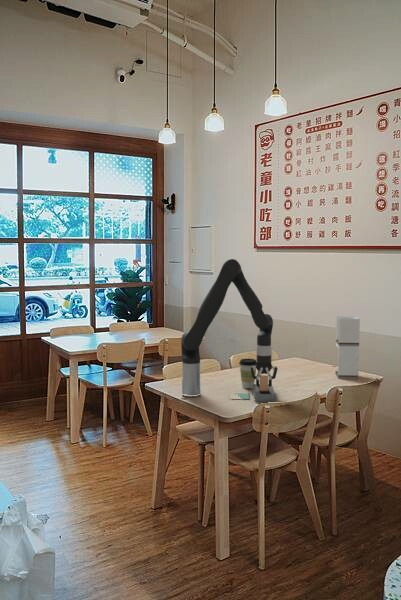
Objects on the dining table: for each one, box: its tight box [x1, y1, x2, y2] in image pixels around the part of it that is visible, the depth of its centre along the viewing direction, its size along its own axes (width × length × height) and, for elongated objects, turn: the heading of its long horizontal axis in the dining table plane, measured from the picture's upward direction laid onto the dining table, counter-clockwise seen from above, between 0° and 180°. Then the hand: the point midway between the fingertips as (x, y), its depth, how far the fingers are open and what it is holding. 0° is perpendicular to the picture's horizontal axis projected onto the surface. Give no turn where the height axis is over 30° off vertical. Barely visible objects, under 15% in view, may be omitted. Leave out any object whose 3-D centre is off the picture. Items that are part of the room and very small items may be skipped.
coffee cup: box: [238, 358, 257, 389], centre depth 290 cm, size 10×10×15 cm
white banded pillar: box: [334, 315, 361, 380], centre depth 312 cm, size 11×11×35 cm
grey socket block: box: [252, 383, 277, 403], centre depth 271 cm, size 10×20×4 cm, turn 178°
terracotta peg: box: [259, 374, 269, 391], centre depth 271 cm, size 4×4×11 cm
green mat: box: [234, 392, 250, 400], centre depth 272 cm, size 10×10×1 cm
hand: (263, 386), depth 271 cm, fingers open, 5 cm apart
